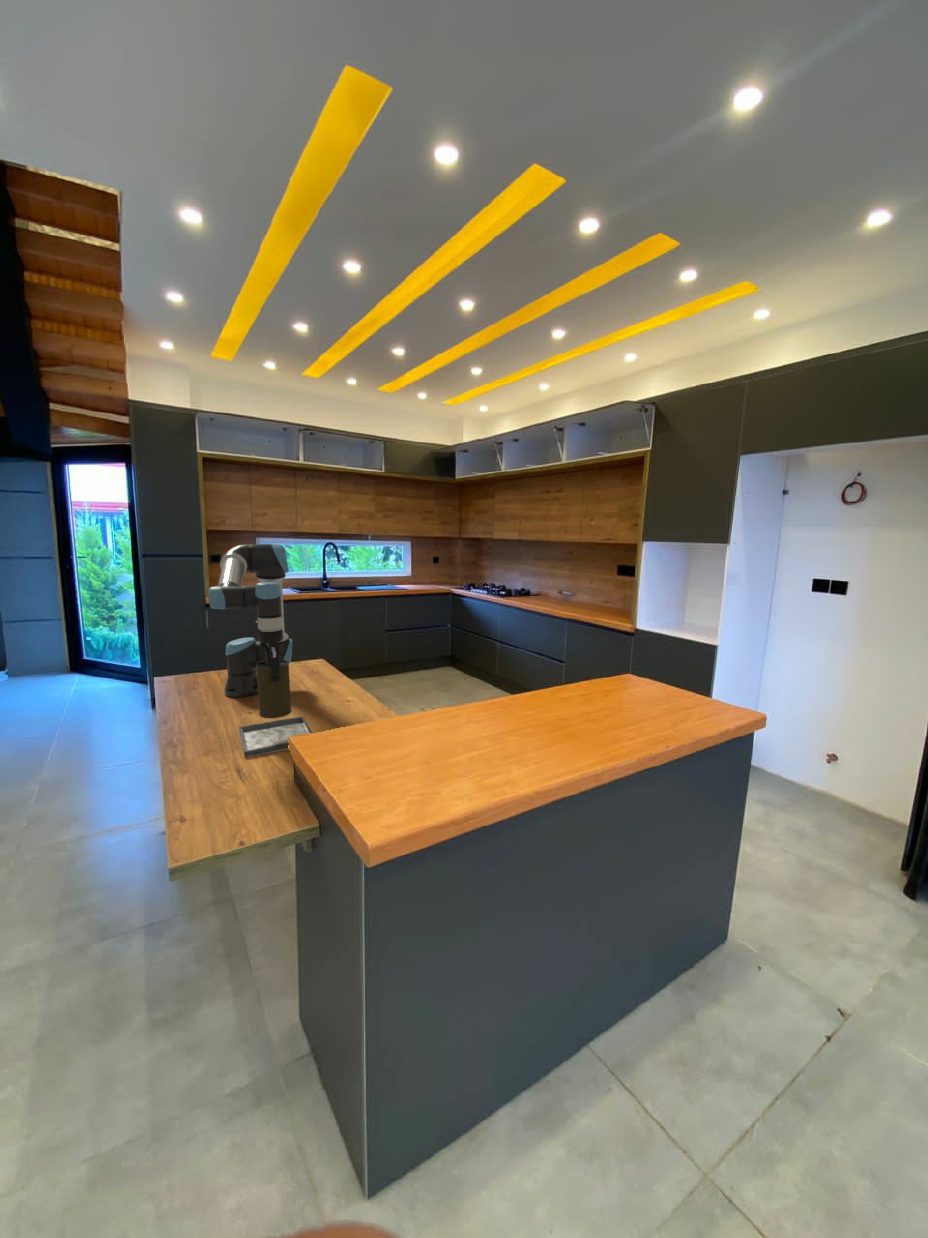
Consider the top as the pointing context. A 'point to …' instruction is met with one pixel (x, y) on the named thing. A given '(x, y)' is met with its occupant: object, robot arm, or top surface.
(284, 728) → the shallow grey tray
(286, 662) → the canister
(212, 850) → the top surface
